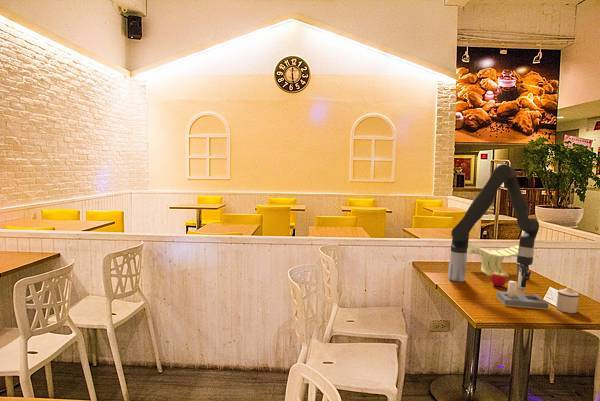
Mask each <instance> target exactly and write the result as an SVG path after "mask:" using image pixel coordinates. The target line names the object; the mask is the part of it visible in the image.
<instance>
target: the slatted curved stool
mask: <svg viewBox="0 0 600 401" xmlns="http://www.w3.org/2000/svg"><path fill="white" fill-rule="evenodd" d="M518 248H519V245H513V246H511V247H507V248H503V249H496V250H494V249H492V250H491V249H489V250H488V249H485V248H481V247H479V246H476V245H475V244H473V243H471V242H470V243H469V242H468V249H467V255H473V254H474V255H478V256H480V260H481V266H480V271H482V272H483V273H484V274H485V275H487V276H490V277H491V275H492V273H494V272H500V273H504V274H506V276H507V278H508V277H509V278H510V276H509V273H507V272H506V271H505V270H504V269H503V267H502V264H503V261H504V259H505V258H507V259H512V258H513V257H515V258H517V254H518ZM500 269H501V270H500Z"/></svg>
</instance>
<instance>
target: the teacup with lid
mask: <svg viewBox="0 0 600 401" xmlns="http://www.w3.org/2000/svg"><path fill="white" fill-rule="evenodd" d="M556 297H557V298H556V306H555V307H556V310H558V311H559V312H563V313H566V312H567V313H566V314H576V313H577V312H578V308H579V307H578V305H579V297H580V294H579V292H577V291H575V290H573V289H572V287H570V286H567V287H566V288H563V289H558V290H557V296H556Z"/></svg>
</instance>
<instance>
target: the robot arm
mask: <svg viewBox="0 0 600 401" xmlns="http://www.w3.org/2000/svg"><path fill="white" fill-rule="evenodd" d="M516 174H517V173H516V170H515V169H514V167H513V166H510V165H508V164H506V163H501V164H499V165H497V166H496V167H495V168H494V170H493V171H492V173H491V175H490V177H489V179H488V180H487V182H486V183H485V185H483V187H482V189H481V190H480V191H479V193H478V194H477V195H476V196H475V198H474V199H473V201H472V202H471V203H470V206H469V207H468V209H467V210H466V212H465V214H464V216H463V217H462V218H461V220H460V221H459V222H458V223H457V224H456V225H455V226H454V227H453V228H452V229H451V237H452V238H451V245H450V256H449V261H448V272H447V278H448V280H449V281H454V282H458V283H459V282H465V280H466V271H467V260H468V259H467V256H468V245H469V240H470V232H471V231H472V229H473V227H474V226H475V224H477V223H478V222H479V220H481V218H482V217H483V216H484V215H486V213H487V212H488V210H489V209H490V207H491V206H492V204H493V203H494V200H495V198H496V195H497V192H498V190H499V189H500V188H501V187H502V185H504V186H505V187H506V189H507V192H508V195H509V201H510V203H511V207H512V208H513V211H514V213H515V216H516V222H517V226H518V228H519V230H520V231H522V232H524V233H523V234H522V235H520V237H519V243H518V246H519V248H518V254H517V257H516V263H517V264H516V270H517V271H516V272H517V273H516V274H517V277H519V272H521V276H522V281H521V287H526V288H527V281H529V279H530V276H531V274H532V273H531V270H530V268H529V266H531V265H533V262H534V254H535V240H536V237H537V236H538V233H539V229H540V222H539V220H537V218H534V217H529V214H530V212H531V211H530V210H531V209H530V207H529V204H528V203H527V201H526V198H525V196H524V195H523V193H522V190H521V188H520V185H519V184H520V183H519V181H518V177H517V175H516ZM523 276H524V277H523ZM525 277H526V278H525Z"/></svg>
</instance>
